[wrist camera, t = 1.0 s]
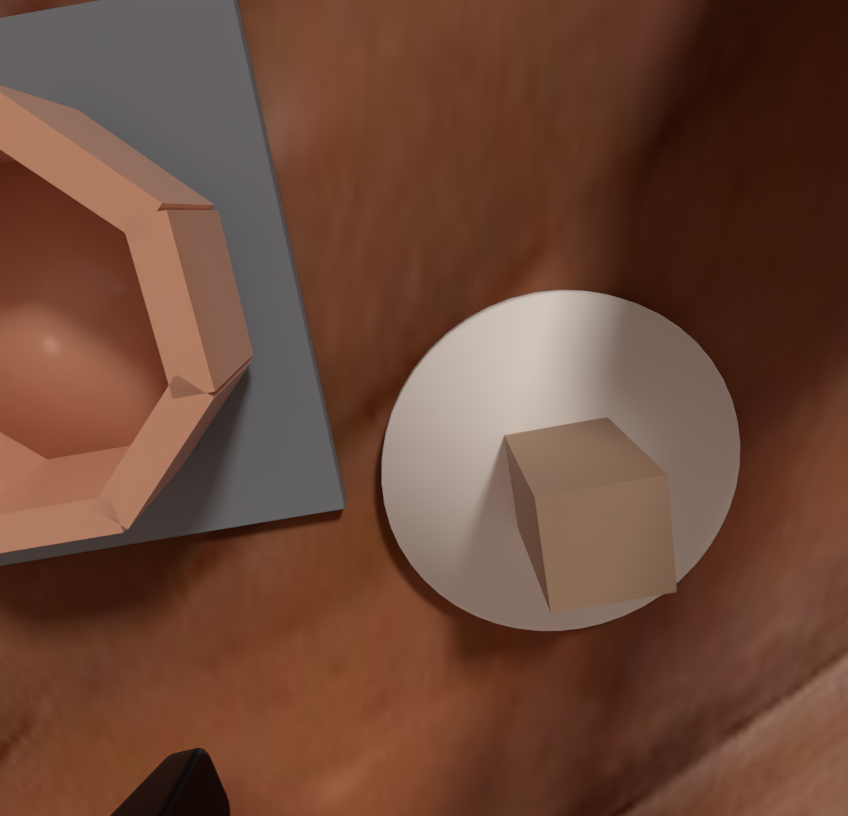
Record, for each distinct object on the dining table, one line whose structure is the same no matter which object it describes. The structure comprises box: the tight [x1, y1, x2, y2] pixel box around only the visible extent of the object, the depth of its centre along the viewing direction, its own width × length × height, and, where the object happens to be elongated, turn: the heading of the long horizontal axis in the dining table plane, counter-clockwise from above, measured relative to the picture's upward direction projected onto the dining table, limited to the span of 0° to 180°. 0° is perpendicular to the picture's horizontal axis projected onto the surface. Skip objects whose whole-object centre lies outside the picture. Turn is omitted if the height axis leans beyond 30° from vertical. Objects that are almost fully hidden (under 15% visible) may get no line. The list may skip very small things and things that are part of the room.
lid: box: [382, 290, 740, 631], centre depth 18 cm, size 11×11×6 cm
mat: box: [0, 0, 346, 566], centre depth 18 cm, size 12×14×1 cm
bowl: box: [0, 85, 253, 553], centre depth 16 cm, size 9×9×5 cm
